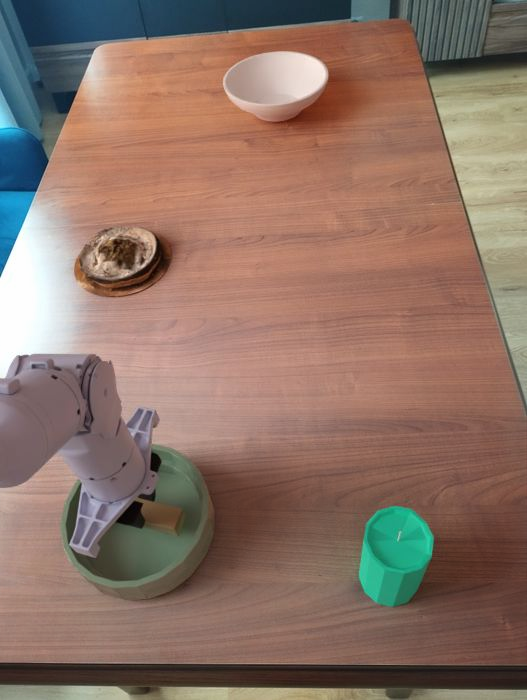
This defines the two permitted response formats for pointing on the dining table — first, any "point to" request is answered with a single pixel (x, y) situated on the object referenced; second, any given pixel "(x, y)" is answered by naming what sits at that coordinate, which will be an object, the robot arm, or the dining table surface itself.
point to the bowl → (276, 84)
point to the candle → (394, 555)
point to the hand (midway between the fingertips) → (140, 511)
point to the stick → (162, 517)
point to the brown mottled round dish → (122, 261)
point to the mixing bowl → (148, 537)
